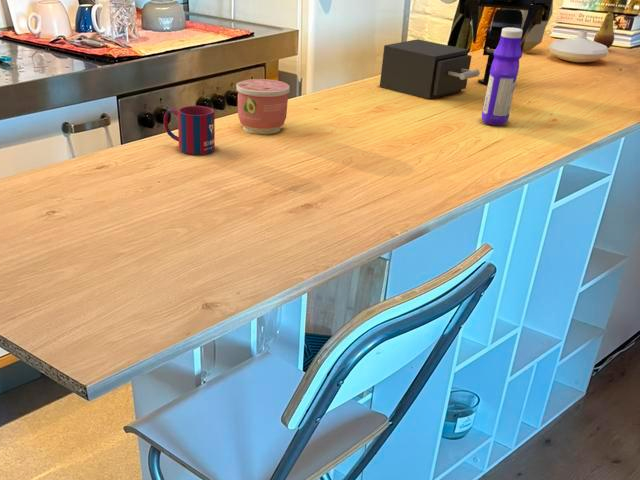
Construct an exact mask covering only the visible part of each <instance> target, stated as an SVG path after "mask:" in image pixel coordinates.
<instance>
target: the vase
mask: <svg viewBox="0 0 640 480" xmlns="http://www.w3.org/2000/svg"><path fill="white" fill-rule="evenodd" d="M587 35H588V31H587V30H582V29H581V30H578V33H577V36H576V37H572V38H571V37H570V38H564V39H557V40H554V41H552V42H551V43H550V44H549V51H550V53H552V54H553V55H554V56H555V57H556V58H558V59H561V60H564V61H567V62H571V63H592V62H597V61H600V60H601V59H603V58H605V57H607V55H608V53H609V52H610V51H609V48H607V46H605V45H603V44H600V43H597V42H595V41H594V40H592V39H588V38H587Z"/></svg>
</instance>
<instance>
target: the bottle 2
mask: <svg viewBox="0 0 640 480" xmlns="http://www.w3.org/2000/svg"><path fill="white" fill-rule="evenodd" d="M553 7H554V0H553V1H552V5H551V10H550V14H549V19H548V20H547V21H541V24H539V25H535V26H534V27H533V28H532V30H531V31H530V32H529V33H528V35H527V36H526V38H525V42H524V48H523V52H522V53H525V52H529V51H531V50H532V49H533V48H535V47H536V46H538V45H540V44H541V43H542V42H543V38H544V34H545V31H546V27H547V25H548V24H549V22H550V20H551V18H552V16H553V11H554V8H553ZM520 11H522V15H523V16H522V17H523V22H522V28H523V25H524V23H525V20H526V17H527V14H528V11H525V10H520Z"/></svg>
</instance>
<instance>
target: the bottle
mask: <svg viewBox="0 0 640 480" xmlns="http://www.w3.org/2000/svg"><path fill="white" fill-rule="evenodd" d="M522 32H523V30H522V29H519V28H510V27H508V28H503V29H502V33H501V38H500V41H499V44H498V46H497V48H496V50H495V51H494V53H493V54H494V60H493V62H492V65H491V69H490V76H489V82H488V85H487V88H486V92H485V97H484V102H483V107H482V111H481V121H482V122H483V123H484V124H485V125H488V126H496V127H499V126H504V125H506V124H507V122H508V121H509V118H510V112H511V106H512V103H513V96H514V92H515V88H516V87H515V86H516V83H517V78H518V75H519V70H520V59H521V58H522V57H523V52H521V37H522ZM521 56H522V57H521Z"/></svg>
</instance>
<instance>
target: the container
mask: <svg viewBox="0 0 640 480" xmlns="http://www.w3.org/2000/svg"><path fill="white" fill-rule="evenodd" d="M235 86H236V87H235V88H236V91H237V117H238V120H239V123H240V124H241V125H242V126H243V127H242V129H243V130H244V131H245V132H247V133H251V134H255V135H270V134H276V133H279V132H280V131H281V127H282V126H284V124H285V121H286V119H287V113H288V102H289V95H288V94H289V93H290V90H291V88H290V85H289V84H288V83H286V82H284V81H280V80H276V79H266V78H253V79H245V80H241V81H239V82H237V83H236V85H235Z"/></svg>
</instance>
